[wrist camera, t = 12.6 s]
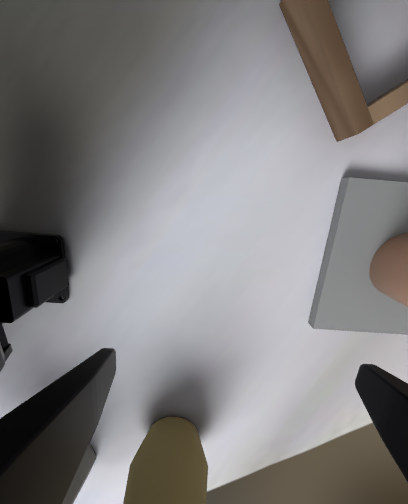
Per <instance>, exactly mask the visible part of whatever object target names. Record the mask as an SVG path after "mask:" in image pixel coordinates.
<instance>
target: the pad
mask: <svg viewBox="0 0 408 504" xmlns="http://www.w3.org/2000/svg"><path fill="white" fill-rule="evenodd" d="M404 233H408V182H398V181H386V180H375V179H363V178H351V177H348V178H342V179H341V184H340V188H339V192H338V197H337V201H336V205H335V210H334V214H333V218H332V223H331V227H330V231H329V236H328V240H327V244H326V249H325V253H324V257H323V262H322V266H321V270H320V274H319V279H318V283H317V287H316V292H315V296H314V300H313V305H312V309H311V313H310V318H309V322H308V323H309V324H310V325H311V327H312V328H313V329H327V330H343V331H359V332H374V333H390V334H406V335H408V307H406V306H404V305H402V304H401V303H399V302H397V301H395V300H393V299H392V298H390V297H388V296H386V295H384V294H383V293H381V292H379V291H378V290H377V289H376V288H375V287H374V286H373V284H372V282H371V279H370V274H369V269H370V264H371V261H372V258H373V256H374V255H375V253H376V251H377V250H378V249H379V248H380V247H381V246H382V245H383V244H384V243H385V242H386V241H388V240H389V239H391V238H393V237H395V236H397V235H400V234H404Z"/></svg>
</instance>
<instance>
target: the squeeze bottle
mask: <svg viewBox="0 0 408 504" xmlns="http://www.w3.org/2000/svg"><path fill="white" fill-rule="evenodd" d="M207 475H208V465H207V461H206V458H205V454H204V451H203V448H202V444H201V441H200V438H199V434H198V432H197V430H196V428H195V426H194V425H193V424H192V423H191V422H189V421H188V420H186V419H183V418H180V417H166V418H163V419H159V420H158V421H157V422H155V423H154V424H153V425H152V426H151V428H150V430H149V431H148V433H147V435H146V437H145V439H144V440H143V442H142V444H141V446H140V448H139V449H138V451H137V453H136V455H135V457H134V459H133V461H132V463H131V464H130V469H129V475H128V480H127V486H126V492H125V497H124V503H123V504H206V492H207Z"/></svg>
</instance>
